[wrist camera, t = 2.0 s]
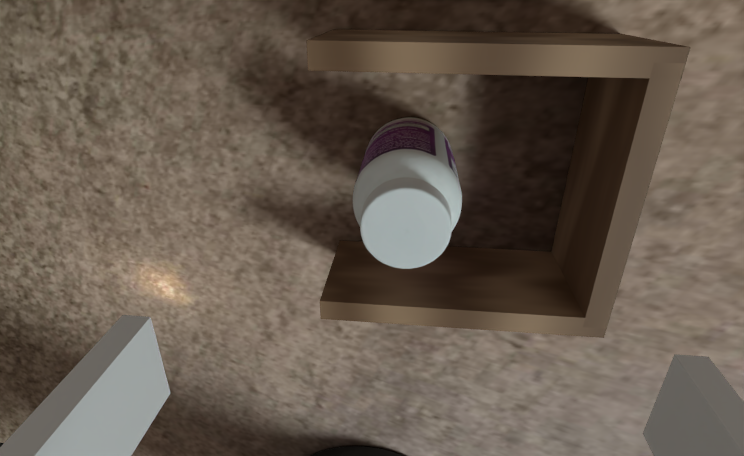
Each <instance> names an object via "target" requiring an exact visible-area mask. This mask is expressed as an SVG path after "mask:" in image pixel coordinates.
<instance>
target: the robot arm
mask: <svg viewBox="0 0 744 456" xmlns="http://www.w3.org/2000/svg"><path fill="white" fill-rule="evenodd" d="M169 395H170V389H169V385H168V381H167V378H166V374H165V370H164V366H163V362H162V359H161V355H160V351H159V347H158V343H157V340H156V336H155V332H154V328H153V325H152V321H151V317H144V316H130V315H122V316H121V318H120V319H119V320H118V321H117V322H116V323H115V324H114V325H113V326H112V327H111V328H110V329H109V330H108V332H107V333H106V334H105V335H104V336H103V337H102V338H101V339H100V340H99V341H98V342H97V343H96V344H95V346H94V347H93V348H92V349H91V350H90V351H89V352H88V353H87V354H86V355H85V356H84V357H83V359H82V360H81V361H80V362H79V363H78V364H77V365H76V366H75V367H74V368H73V369H72V370H71V371H70V373H69V374H68V375H67V376H66V377H65V378H64V379H63V380H62V381H61V382H60V383H59V384H58V386H57V387H56V388H55V389H54V390H53V391H52V392H51V393H50V394H49V395H48V396H47V397H46V398H45V400H44V401H43V402H42V403H41V404H40V405H39V406H38V407H37V408H36V409H35V410H34V411H33V412H32V414H31V415H30V416H29V417H28V418H27V419H26V420H25V421H24V422H23V423H22V424H21V425H20V427H19V428H18V429H17V430H16V431H15V432H14V433H13V434H12V435H11V436H10V437H9V438H8V439H7V441H6V442H5V443H0V456H131V455H132V454H133V452H134V450H135V449H136V447H137V446H138V444H139V443H140V441H141V439H142V438H143V436H144V435H145V433H146V431H147V430H148V428H149V427H150V425H151V423H152V422H153V420H154V419H155V417H156V415H157V414H158V412H159V411H160V409H161V408H162V406H163V404H164V403H165V401H166V400H167V398H168V396H169ZM643 435H644V437H645V439H646V441H647V443H648V445H649V447H650V449H651V451H652V453H653V455H654V456H744V402H743V401H742V399H741V398H740V397H739V395H738V394H737V393H736V392H735V390H734V389H733V388H732V386H731V385H730V384H729V383H728V381H727V380H726V379H725V377H724V376H723V375H722V374H721V372H720V371H719V370H718V368H717V367H716V366H715V365H714V363H713V362H712V361H711V359H710V358H709V357H704V356H690V355H676V354H675V355H674V357H673V360H672V362H671V365H670V367H669V370H668V372H667V375H666V377H665V380H664V382H663V385H662V387H661V390H660V392H659V394H658V397H657V399H656V402H655V404H654V407H653V409H652V412H651V414H650V417H649V419H648V422H647V424H646V427H645V429H644V432H643ZM311 456H402V455H400V454H397V453H394V452H391V451H387V450H383V449H378V448H372V447H363V446H346V447H337V448H331V449H327V450H324V451H321V452H318V453H315V454H313V455H311Z"/></svg>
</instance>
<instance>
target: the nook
mask: <svg viewBox="0 0 744 456" xmlns="http://www.w3.org/2000/svg"><path fill="white" fill-rule="evenodd" d="M306 41H307V60H308V71H350V72H393V73H436V74H480V75H523V76H566V77H588V81H587V86H586V91H585V95H584V100H583V105H582V110H581V114H580V119H579V124H578V129H577V133H576V138H575V143H574V148H573V152H572V157H571V162H570V167H569V171H568V176H567V181H566V186H565V190H564V195H563V200H562V204H561V209H560V214H559V219H558V223H557V228H556V233H555V238H554V242H553V247H552V252H549V251H530V250H511V249H492V248H473V247H454V246H447V247H446V249H445V250H444V252H443V253H442V254H441V255H440V256H439V257H438V258H436V259H435V260H434V261H432V262H430V263H429V264H427V265H424V266H421V267H418V268H411V269H402V268H395V267H391V266H389V265H386V264H384V263H382V262H380V261H379V260H377V259H376V258H375V257H374V256H373V255H372V254H371V253H370V252H369V251H368V250H367V248H366V247H365V245H364V243H363V242H360V241H341V240H340V242H339V245H338V248H337V251H336V254H335V257H334V260H333V263H332V266H331V269H330V272H329V275H328V278H327V281H326V284H325V287H324V290H323V293H322V296H321V299H320V314H321V319H331V320H346V321H361V322H376V323H391V324H406V325H421V326H436V327H451V328H466V329H481V330H496V331H511V332H526V333H541V334H556V335H571V336H586V337H601V338H604V335H605V332H606V329H607V325H608V322H609V319H610V315H611V312H612V309H613V305H614V302H615V299H616V295H617V292H618V289H619V285H620V282H621V278H622V275H623V272H624V268H625V265H626V262H627V258H628V255H629V252H630V248H631V245H632V242H633V238H634V235H635V232H636V228H637V225H638V221H639V218H640V215H641V211H642V208H643V205H644V201H645V198H646V195H647V191H648V188H649V185H650V181H651V178H652V175H653V171H654V168H655V164H656V161H657V158H658V154H659V151H660V148H661V144H662V141H663V138H664V134H665V131H666V128H667V124H668V121H669V118H670V114H671V111H672V108H673V104H674V101H675V97H676V94H677V91H678V87H679V84H680V81H681V77H682V74H683V71H684V67H685V64H686V61H687V57H688V54H689V51H690V47H687V46H682V45H677V44H671V43H666V42H661V41H656V40H651V39H645V38H640V37H635V36H630V35H625V34H599V33H536V32H473V31H410V30H346V29H334V30H331V31H329V32H326V33H324V34H321V35H319V36H316V37H314V38H311V39H309V40H306Z"/></svg>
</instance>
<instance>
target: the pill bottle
mask: <svg viewBox="0 0 744 456" xmlns="http://www.w3.org/2000/svg"><path fill="white" fill-rule="evenodd" d="M461 208H462V192H461V187H460V183H459V179H458V174H457V169H456V164H455V160H454V157H453V153H452V149H451V146H450V143H449V141H448V140H447V138H446V136H445V135H444V133H443V132H442V131H441V130H440V129H439V128H437V127H436V126H435V125H433V124H432V123H430V122H428V121H425V120H423V119H419V118H412V117H408V118H401V119H396V120H393V121H391V122H389V123H387V124H385V125H384V126H382V127H381V128H380V129H379V130H378V131H377V132H376V133H375V134H374V135H373V137H372V139H371V140H370V142H369V144H368V147H367V149H366V152H365V155H364V159H363V162H362V165H361V168H360V171H359V174H358V177H357V180H356V183H355V186H354V191H353V209H354V214H355V217H356V220H357V222H358V224H359V226H360V232H361V237H362V240H363V243H364V245H365V247H366V248H367V250H368V251H369V252H370V253H371V254H372V255H373V256H374V257H375V258H376V259H377V260H379V261H380V262H382V263H384V264H386V265H389V266H391V267H395V268H402V269H411V268H418V267H421V266H424V265H427V264H429V263H430V262H432V261H434V260H435V259H436V258H438V257H439V256H440V255H441V254H442V253H443V252H444V250H445V249H446V247H447V245H448V243H449V241H450V237H451V232H452V230H453V229H454V227H455V226H456V224H457V222H458V220H459V217H460V213H461Z"/></svg>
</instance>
